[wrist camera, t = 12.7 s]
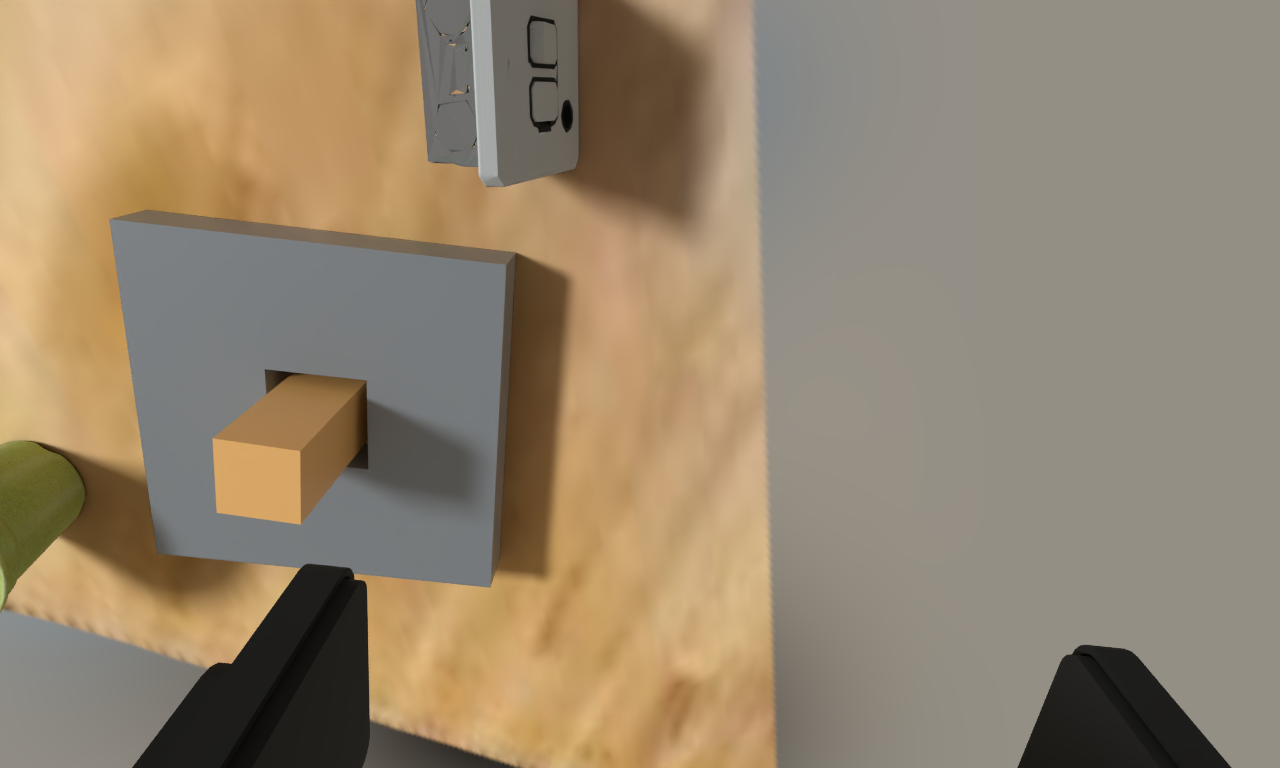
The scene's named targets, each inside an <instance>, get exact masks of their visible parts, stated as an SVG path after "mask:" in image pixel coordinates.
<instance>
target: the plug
mask: <svg viewBox="0 0 1280 768" xmlns="http://www.w3.org/2000/svg"><path fill="white" fill-rule="evenodd" d="M212 439H213V457H214V474H215V492H216V510H217V513H222V514H229V515H236V516H243V517H250V518H257V519H264V520H271V521H279V522H286V523H293V524H300V525H301V524H302V523H303V521H304V520H305V519H306V517H307V516H308V515H309V514H310V512H311V511H312V510H313V509H314V507H315V506H316V505H317V504H318V502H319V501H320V500H321V499H322V497H323V496H324V495H325V493H326V492H327V491H328V490H329V488H330V487H331V486H332V485H333V483H334V482H335V481H336V480H337V478H338V477H339V476H340V474H341V473H342V472H343V471H344V469H345V468H346V467H347V466H348V464H349V463H350V462H351V461H352V459H353V458H354V457H355V456H356V454H357V453H358V452H359V450H360V449H361V448H362V447H363V445H364V444H365V443H366V442H367V440H368V424H367V380H358V379H349V378H340V377H331V376H322V375H313V374H304V373H295V372H293V373H292V374H291V375H290V376H289V377H287V378H286V379H285V380H284V381H282V382H281V383H280V384H279V385H277V386H276V387H275V388H274V389H273V390H271V391H270V392H269V393H268V394H266V395H265V396H264V397H263V398H261V399H260V400H259V401H258V402H257V403H255V404H254V405H253V406H252V407H250V408H249V409H248V410H247V411H246V412H244V413H243V414H242V415H241V416H239V417H238V418H237V419H236V420H234V421H233V422H232V423H231V424H230V425H228V426H227V427H226V428H225V429H223V430H222V431H221V432H220V433H218V434H217V435H216V436H215V437H214V438H212Z"/></svg>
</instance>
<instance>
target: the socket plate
mask: <svg viewBox="0 0 1280 768" xmlns="http://www.w3.org/2000/svg"><path fill="white" fill-rule="evenodd" d="M109 220H110V227H111V234H112V241H113V248H114V255H115V262H116V269H117V276H118V283H119V290H120V297H121V304H122V311H123V318H124V325H125V332H126V339H127V346H128V353H129V360H130V367H131V374H132V381H133V388H134V395H135V402H136V408H137V415H138V422H139V429H140V436H141V443H142V450H143V457H144V464H145V471H146V478H147V485H148V492H149V499H150V506H151V513H152V520H153V527H154V534H155V541H156V548H157V553H158V554H167V555H177V556H187V557H197V558H207V559H216V560H226V561H236V562H246V563H255V564H265V565H275V566H285V567H295V568H302V567H303V566H304V565H305V564H308V563H309V564H318V565H328V566H337V567H347V568H350V569H352V571H353V574H363V575H373V576H383V577H392V578H402V579H412V580H422V581H432V582H441V583H451V584H461V585H471V586H480V587H491V584H492V581H493V578H494V574H495V571H496V568H497V565H498V562H499V559H500V540H501V522H502V503H503V485H504V466H505V448H506V429H507V411H508V392H509V374H510V355H511V336H512V318H513V299H514V281H515V262H516V253H515V252H506V251H497V250H489V249H480V248H471V247H463V246H454V245H445V244H437V243H428V242H420V241H411V240H402V239H394V238H385V237H376V236H368V235H359V234H350V233H342V232H333V231H324V230H316V229H307V228H298V227H290V226H281V225H272V224H264V223H255V222H246V221H238V220H229V219H220V218H212V217H203V216H194V215H186V214H177V213H168V212H160V211H151V210H144V211H140V212H136V213H132V214H128V215H124V216H120V217H116V218H112V219H109ZM290 372H295V373H304V374H313V375H322V376H331V377H340V378H349V379H358V380H367V424H368V444H364V445H363V447H362V448H361V449H360V450H359V452H358V453H357V454H356V456H355V457H354V458H353V459H352V461H351V462H350V463H349V464H348V466H347V467H346V468H345V469H344V471H343V472H342V473H341V474H340V476H339V477H338V478H337V480H336V481H335V482H334V483H333V485H332V486H331V487H330V488H329V490H328V491H327V492H326V493H325V495H324V496H323V497H322V499H321V500H320V501H319V502H318V504H317V505H316V506H315V507H314V509H313V510H312V511H311V512H310V514H309V515H308V516H307V517H306V519H305V520H304V521H303V523H302V524H301V525H300V524H293V523H286V522H279V521H271V520H264V519H257V518H250V517H243V516H236V515H229V514H222V513H217V510H216V492H215V474H214V457H213V439H212V438H214V437H215V436H216V435H217V434H218V433H220V432H221V431H222V430H223V429H225V428H226V427H227V426H228V425H230V424H231V423H232V422H233V421H234V420H236V419H237V418H238V417H239V416H241V415H242V414H243V413H244V412H246V411H247V410H248V409H249V408H250V407H252V406H253V405H254V404H255V403H257V402H258V401H259V400H260V399H261V398H263V397H264V396H265V395H266V394H268V393H269V392H270V391H271V390H273V389H274V388H275V387H276V386H277V385H279V384H280V383H281V382H282V381H284V380H285V379H286V378H287V377H289V376H290Z"/></svg>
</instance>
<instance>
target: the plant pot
mask: <svg viewBox="0 0 1280 768" xmlns="http://www.w3.org/2000/svg"><path fill="white" fill-rule="evenodd" d="M84 500H85V489H84V485H83V482H82V480H81V478H80V476H79V474H78V473H77V471H76V470H75V468H74V467H73V466H72V465H71V464H70V462H68V461H67V460H66V459H65V458H64V457H63V456H62V455H59V454H56V453H53V452H50V451H48V450H46V449H44V448H42V447H41V446H39V445H38V444H37V443H34V442H29V441H12V442H7V443H4V444H1V445H0V612H1V611H2V609H3V608H4V605H5V603H6V601H7V598H8V594H9V593H10V592H11V590H12V589H13V587H14V586H15V584H16V581H17V579H18V578H19V577H20V576H21V575H22V574H23V573H24V572H25V571H26V570H27V569H28V568H29V567H30V566H31V565H32V564H33V563H34V562H35V560H36V559H37V558H38V557H39V556H40V555H41V554H42V553H43V552H44V551H45V550H46V549H47V548H48V547H49V546H50V545H51V544H52V543H53V542H54V541H55V540H56V539H57V537H58V536H59V535H60V534H61V533H62V532H63V531H64V530H65V529H66V528H67V527H68V526H69V525H70V524H71V523H72V522H73V521H74V520H75V519H76V518H77V517H78V516H79V513H80V511H81V508H82V505H83V502H84Z"/></svg>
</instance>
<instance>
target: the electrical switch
mask: <svg viewBox="0 0 1280 768" xmlns="http://www.w3.org/2000/svg"><path fill="white" fill-rule="evenodd" d="M425 5H426V10H425V9H424V8H425ZM416 10H417V23H418V36H419V49H420V62H421V74H422V87H423V100H424V113H425V126H426V139H427V151H428V161H429V162H433V163H453V164H456V165H460V166H464V167H479V177H480V179H481V180H482V182H483V183H484V185H485V186H486V187H506V186H510V185H514V184H518V183H521V182H525V181H529V180H533V179H537V178H541V177H545V176H549V175H553V174H557V173H561V172H565V171H569V170H572V169H575V167H576V165H577V162H578V159H579V103H578V0H416ZM466 26H467V28H466V30H465V31H464V32H462V31H463V30H464V28H465V27H466ZM441 34H445V36H442V35H441ZM454 43H457V44H456V45H455V46H451V45H448V44H454ZM466 46H467V49H466ZM468 85H469V86H470V92H469V89H468ZM456 89H457V90H459V91H461V92H463V93H464V94H453V95H450V94H451V93H452V92H454V91H455V90H456ZM437 109H438V110H437ZM435 133H436V135H437V136H435ZM474 145H475V148H472V147H473V146H474Z"/></svg>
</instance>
